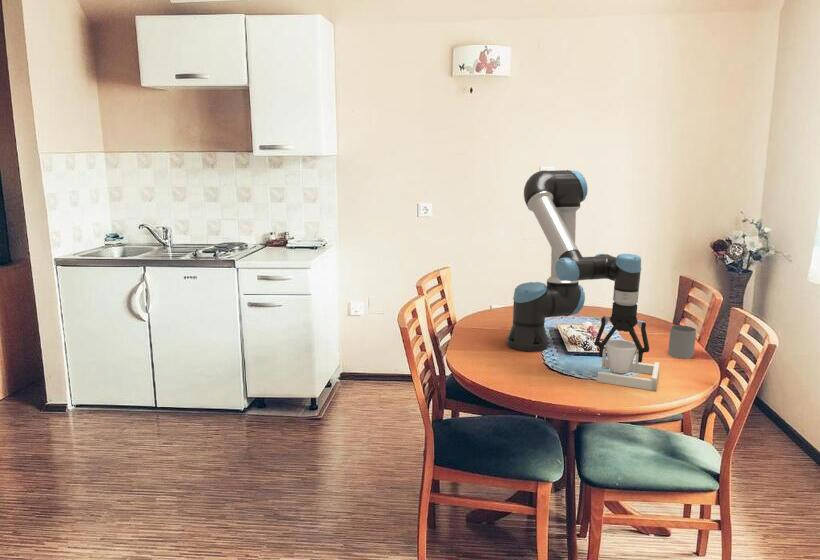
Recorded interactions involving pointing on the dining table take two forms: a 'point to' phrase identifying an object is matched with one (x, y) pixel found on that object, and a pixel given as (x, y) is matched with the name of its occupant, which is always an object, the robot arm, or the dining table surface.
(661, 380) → the dining table surface
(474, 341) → the dining table surface
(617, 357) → the cup
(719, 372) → the dining table surface
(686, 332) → the cup
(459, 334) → the dining table surface
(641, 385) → the bracket
